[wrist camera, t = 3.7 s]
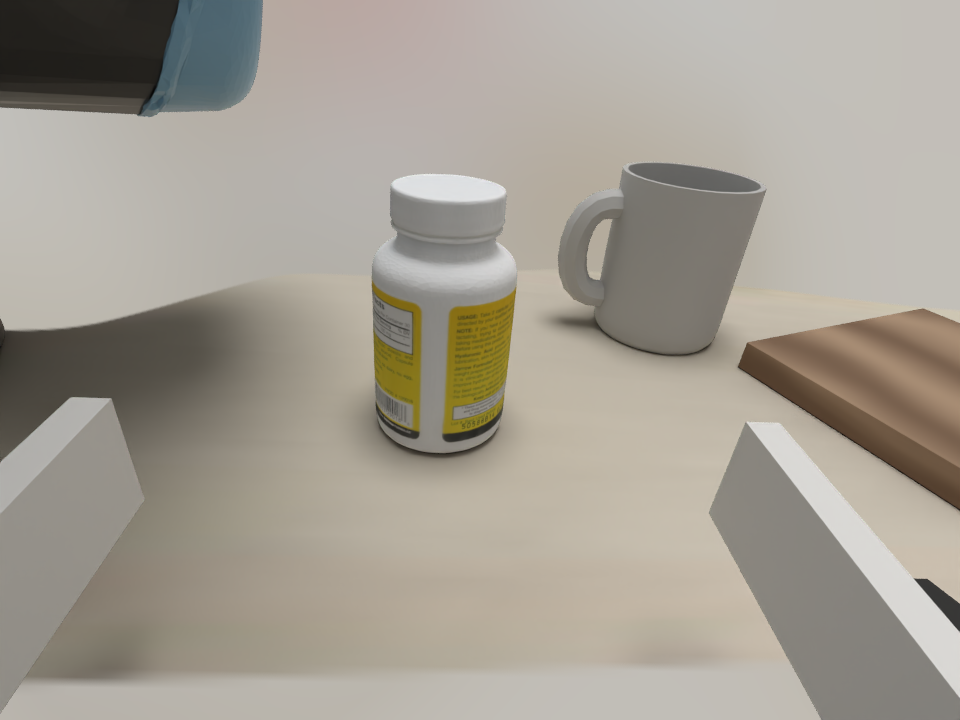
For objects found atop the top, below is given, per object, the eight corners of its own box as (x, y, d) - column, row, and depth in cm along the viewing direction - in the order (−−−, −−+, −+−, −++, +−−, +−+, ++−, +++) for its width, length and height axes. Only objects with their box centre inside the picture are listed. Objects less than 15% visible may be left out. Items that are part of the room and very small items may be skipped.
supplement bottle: (505, 390, 25) (531, 177, 20) (495, 466, 21) (526, 216, 16) (393, 375, 26) (392, 162, 21) (358, 448, 21) (346, 196, 16)
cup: (734, 360, 30) (795, 198, 25) (556, 350, 29) (585, 182, 25) (687, 305, 36) (730, 167, 31) (540, 296, 35) (561, 154, 31)
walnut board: (989, 528, 20) (1013, 499, 19) (738, 366, 29) (747, 342, 28) (1163, 439, 26) (1187, 414, 25) (911, 329, 35) (922, 308, 35)
